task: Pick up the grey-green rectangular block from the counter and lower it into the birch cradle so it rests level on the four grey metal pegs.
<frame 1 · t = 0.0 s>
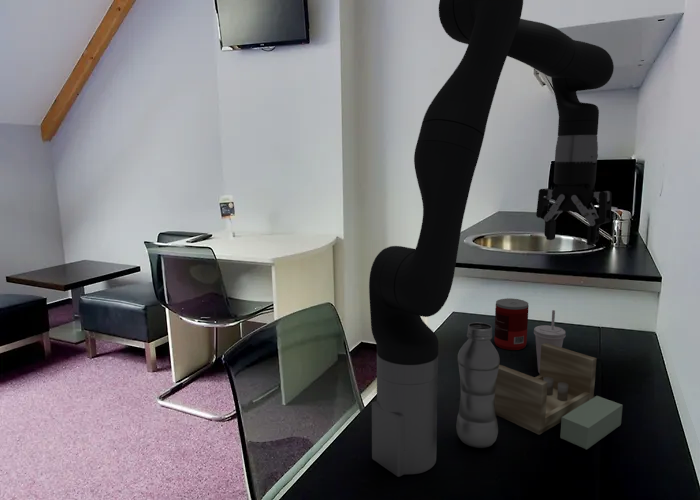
hand: (570, 242, 101), 29 cm above the table, tool pointing down, fingers open, 8 cm apart
smoothie: (547, 373, 110), on the table
canned food: (510, 345, 127), on the table
grey-green rectangular block: (591, 432, 86), on the table
plastic bottle: (476, 443, 83), on the table
cradle: (541, 407, 95), on the table
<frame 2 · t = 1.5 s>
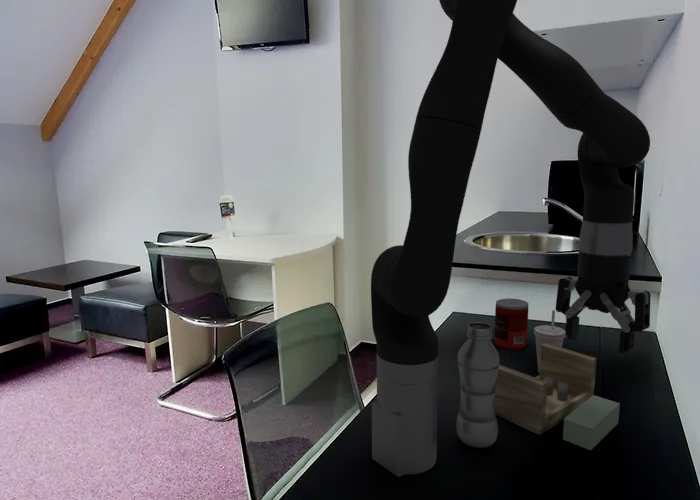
hand: (597, 345, 84), 15 cm above the table, tool pointing down, fingers open, 8 cm apart
nothing on the table moved.
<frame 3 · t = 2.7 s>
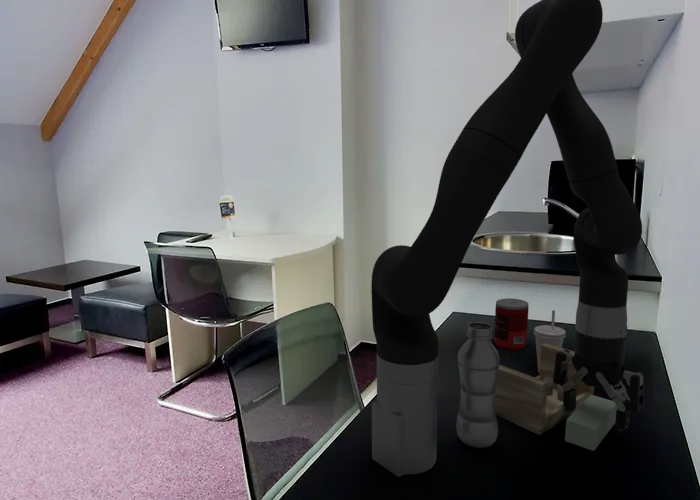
hand: (594, 419, 86), 2 cm above the table, tool pointing down, fingers open, 8 cm apart
nothing on the table moved.
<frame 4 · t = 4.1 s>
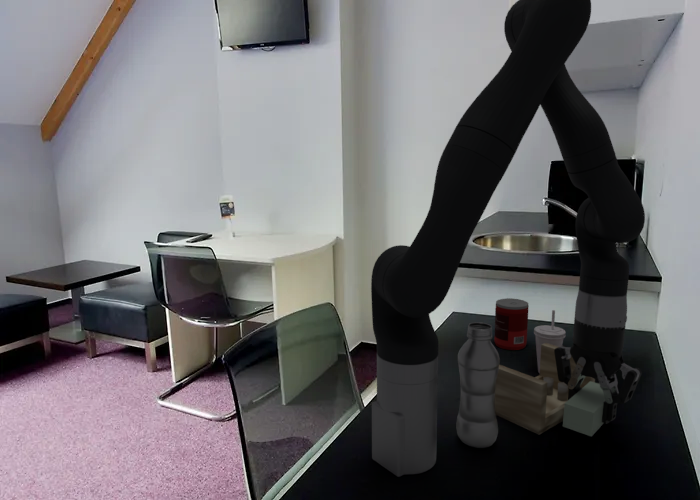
hand: (590, 414, 86), 3 cm above the table, tool pointing down, fingers closed on grey-green rectangular block, 5 cm apart
grey-green rectangular block: (589, 418, 86), point 3 cm above the table, touching gripper
everything else where it was.
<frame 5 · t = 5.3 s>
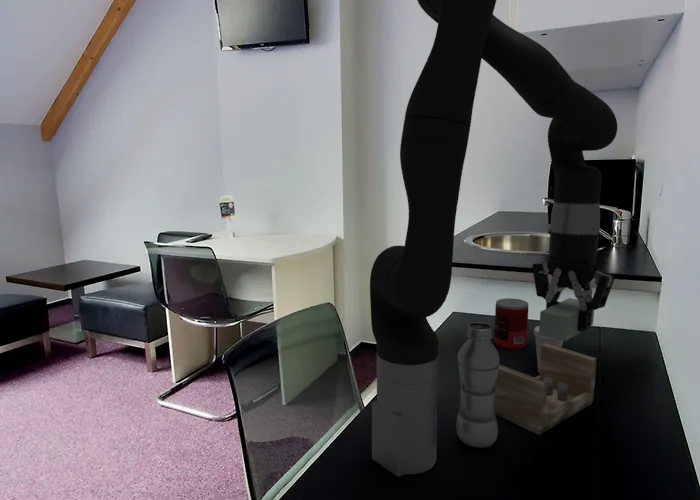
hand: (567, 326, 88), 17 cm above the table, tool pointing down, fingers closed on grey-green rectangular block, 5 cm apart
grey-green rectangular block: (566, 329, 88), point 17 cm above the table, touching gripper
everything else where it was.
when the fingers open (5 cm above the table, at t = 7.5 s): grey-green rectangular block stays where it is, resting on cradle.
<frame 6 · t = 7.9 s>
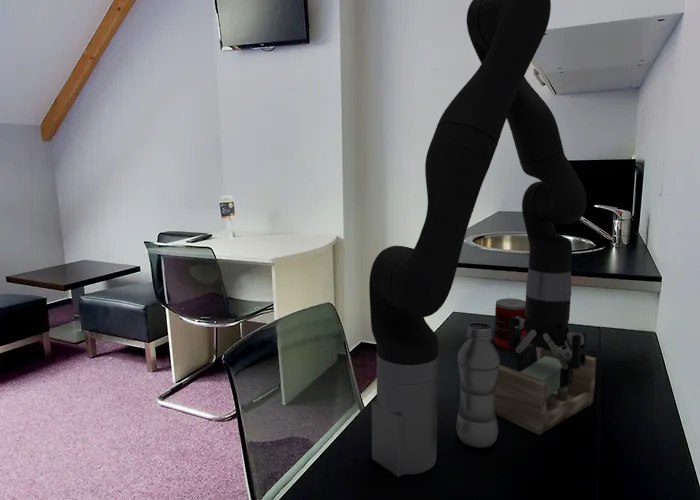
hand: (543, 378, 94), 6 cm above the table, tool pointing down, fingers open, 8 cm apart
grey-green rectangular block: (541, 388, 94), point 4 cm above the table, touching cradle
everything else where it was.
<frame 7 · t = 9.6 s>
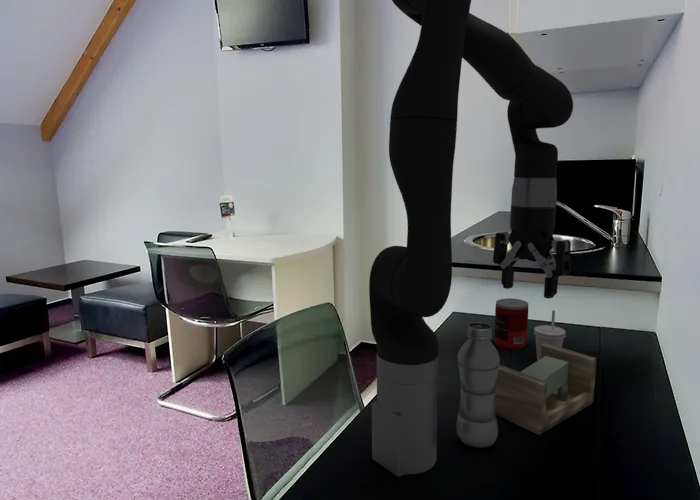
hand: (527, 292, 92), 22 cm above the table, tool pointing down, fingers open, 8 cm apart
nothing on the table moved.
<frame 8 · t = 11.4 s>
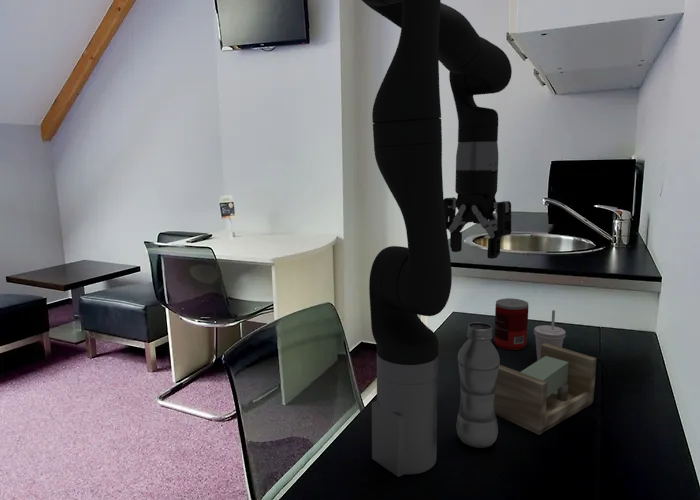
hand: (474, 254, 96), 28 cm above the table, tool pointing down, fingers open, 8 cm apart
nothing on the table moved.
at the end: grey-green rectangular block 0.2 cm off-centre on the cradle, point 3.8 cm above the cradle's base; grey-green rectangular block tilted 0°; the gripper is holding nothing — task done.
